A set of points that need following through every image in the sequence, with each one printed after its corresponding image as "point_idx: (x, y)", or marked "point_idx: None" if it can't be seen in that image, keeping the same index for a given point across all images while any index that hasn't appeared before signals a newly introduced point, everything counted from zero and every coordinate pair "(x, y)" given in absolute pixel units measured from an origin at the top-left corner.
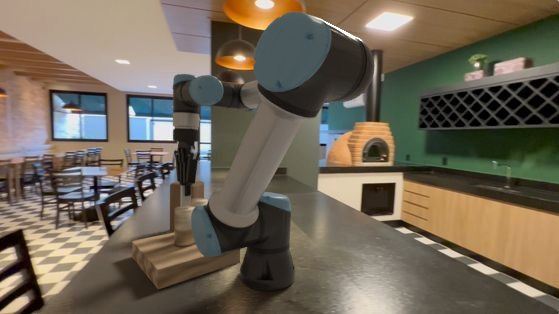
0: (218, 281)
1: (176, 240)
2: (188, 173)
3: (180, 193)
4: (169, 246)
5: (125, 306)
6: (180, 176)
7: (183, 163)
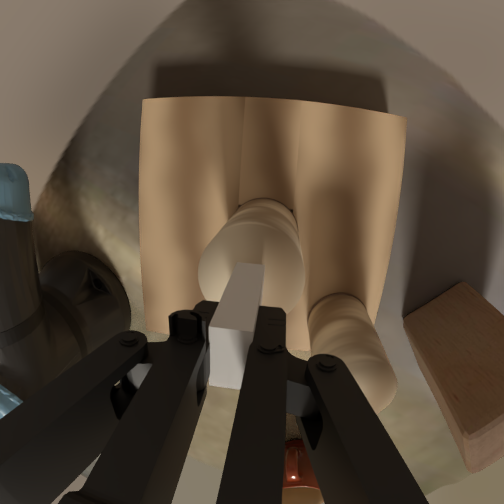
0: (114, 222)
1: (255, 201)
2: (54, 381)
3: (499, 377)
4: (275, 182)
5: (149, 45)
6: (259, 386)
7: (125, 500)
